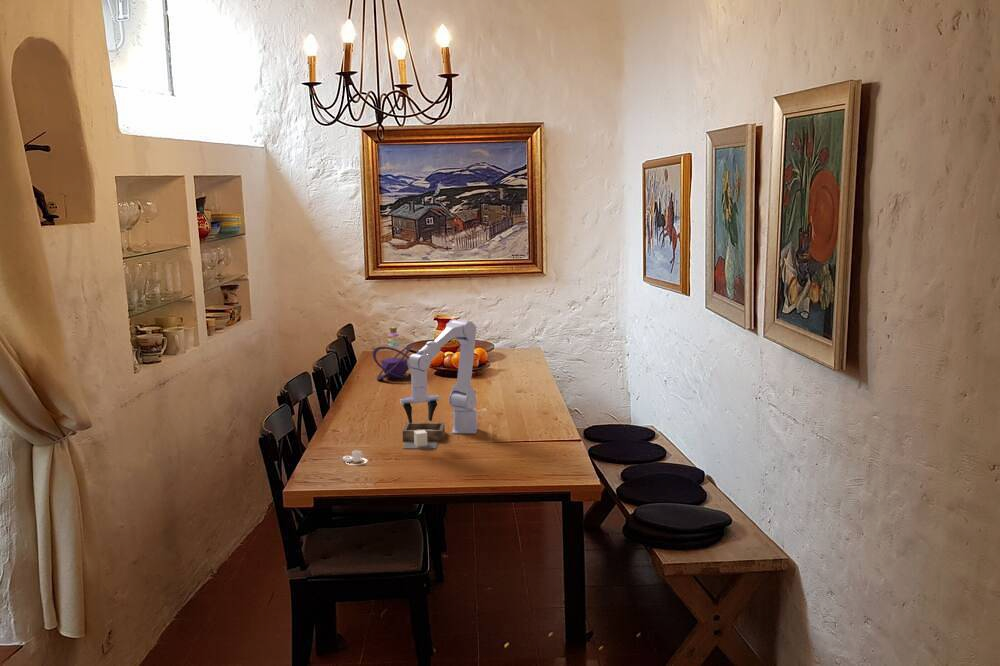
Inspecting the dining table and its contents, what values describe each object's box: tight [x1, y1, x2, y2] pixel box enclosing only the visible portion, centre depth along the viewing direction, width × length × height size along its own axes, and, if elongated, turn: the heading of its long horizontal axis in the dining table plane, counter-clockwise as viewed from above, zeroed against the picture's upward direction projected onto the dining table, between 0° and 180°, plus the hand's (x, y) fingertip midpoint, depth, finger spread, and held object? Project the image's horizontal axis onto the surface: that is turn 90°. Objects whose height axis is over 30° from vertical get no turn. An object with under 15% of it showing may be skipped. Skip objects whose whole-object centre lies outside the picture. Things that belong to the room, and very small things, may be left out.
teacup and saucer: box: [342, 449, 369, 466], centre depth 324 cm, size 9×8×4 cm
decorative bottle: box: [372, 326, 413, 381], centre depth 445 cm, size 22×21×25 cm
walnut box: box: [402, 422, 446, 442], centre depth 351 cm, size 15×11×4 cm
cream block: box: [413, 430, 428, 447], centre depth 340 cm, size 4×4×5 cm
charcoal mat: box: [403, 441, 439, 450], centre depth 341 cm, size 12×8×1 cm, turn 89°
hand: (420, 421), depth 339 cm, fingers open, 7 cm apart
